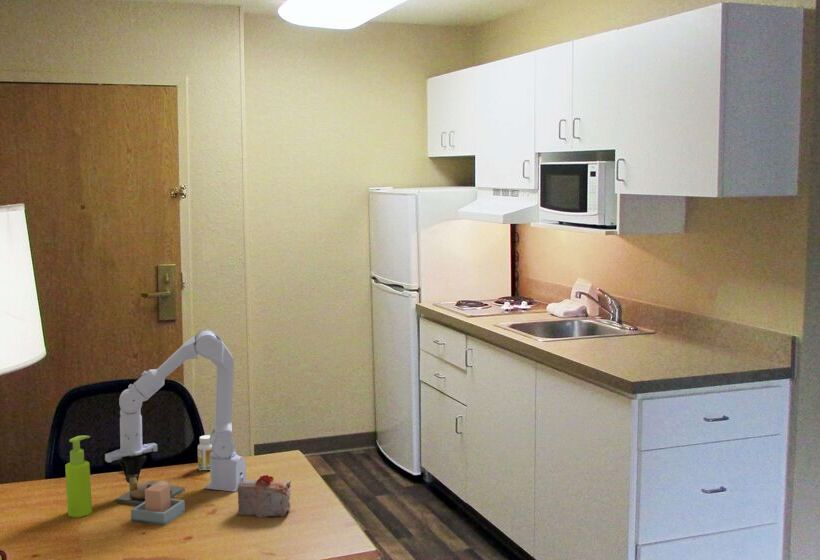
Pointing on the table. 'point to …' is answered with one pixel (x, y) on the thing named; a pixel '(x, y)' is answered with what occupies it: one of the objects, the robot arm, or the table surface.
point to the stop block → (157, 498)
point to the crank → (142, 486)
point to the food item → (264, 497)
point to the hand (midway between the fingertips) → (132, 481)
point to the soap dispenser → (78, 481)
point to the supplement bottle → (204, 453)
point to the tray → (158, 513)
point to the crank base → (130, 500)
